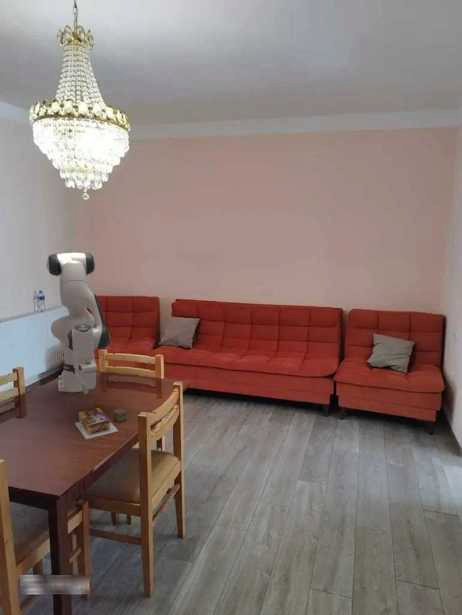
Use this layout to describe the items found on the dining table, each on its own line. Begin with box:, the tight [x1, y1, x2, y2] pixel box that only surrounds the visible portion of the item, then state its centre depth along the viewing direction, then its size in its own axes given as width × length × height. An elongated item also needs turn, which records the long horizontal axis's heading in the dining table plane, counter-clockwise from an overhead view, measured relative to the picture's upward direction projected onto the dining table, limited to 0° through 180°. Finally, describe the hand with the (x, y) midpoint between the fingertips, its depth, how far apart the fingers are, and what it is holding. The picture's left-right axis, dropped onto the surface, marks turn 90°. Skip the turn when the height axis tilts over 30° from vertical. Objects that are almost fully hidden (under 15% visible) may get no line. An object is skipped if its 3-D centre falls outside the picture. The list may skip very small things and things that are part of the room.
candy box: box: [78, 407, 111, 434], centre depth 180 cm, size 9×4×15 cm
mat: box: [74, 421, 119, 440], centre depth 179 cm, size 17×13×1 cm
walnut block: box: [112, 408, 127, 423], centre depth 187 cm, size 4×4×4 cm
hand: (85, 392), depth 188 cm, fingers closed
